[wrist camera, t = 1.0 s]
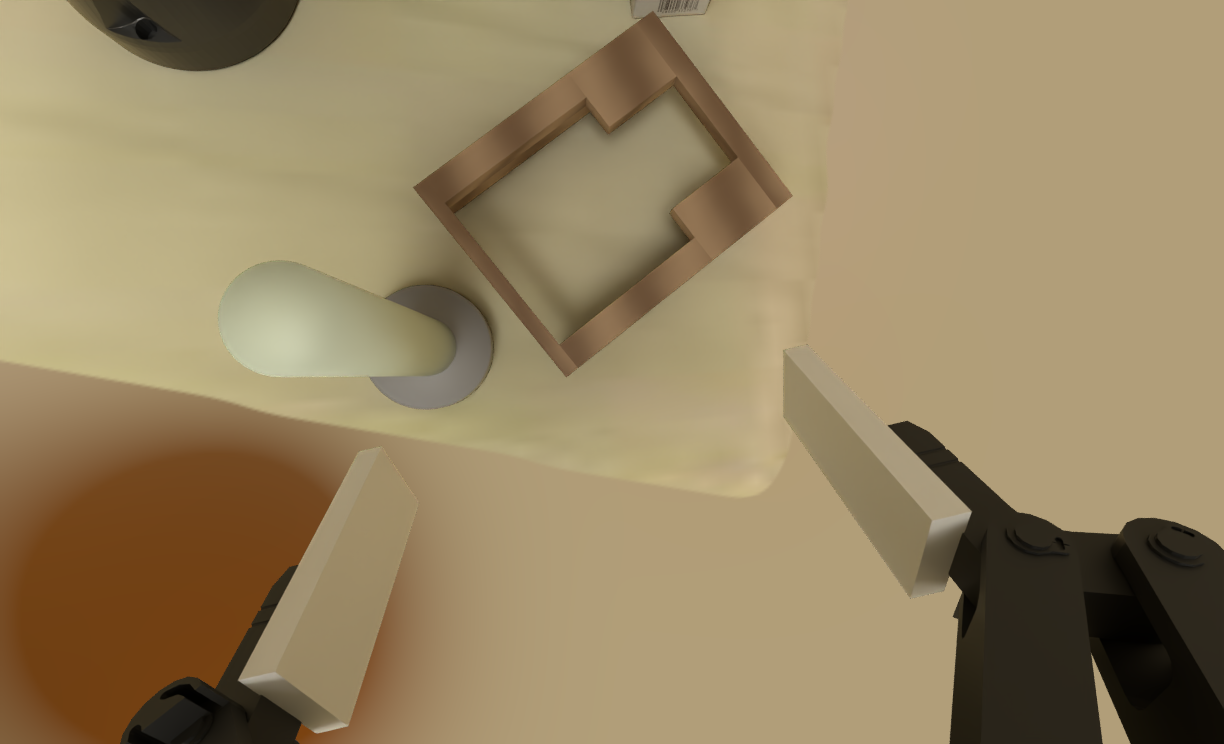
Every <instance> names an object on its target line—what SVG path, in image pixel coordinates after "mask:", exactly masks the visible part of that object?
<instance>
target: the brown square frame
mask: <svg viewBox="0 0 1224 744" xmlns="http://www.w3.org/2000/svg"><path fill="white" fill-rule="evenodd" d="M672 86H674V87H675V88H676V90H677V91H678V92H679V94H680V95H681V96H682V98H683V99H684V100H685V101H686V103H687V104H688V105H689V107H690V108H691V109H692V111H693V112H694V113H695V115H696V116H697V117H698V119H699V120H700V121H701V123H702V124H703V125H704V126H705V128H706V129H707V130H708V132H709V133H710V134H711V136H712V137H713V138H714V140H715V141H716V142H717V144H718V145H719V146H720V148H721V149H722V150H723V151H724V153H725V154H726V155H727V157H728V158H729V159H730V161H731V163H730V164H729V165H728V166H726V167H725V168H724V169H723V170H721V171H720V172H719V173H717V174H716V175H715V176H714V177H712V178H711V179H710V180H708V181H707V182H706V183H705V184H703V185H702V186H701V187H700V188H698V189H697V190H696V191H694V192H693V193H692V194H691V195H689V196H688V197H687V198H685V199H684V200H683V201H682V202H680V203H679V204H678V205H677V206H675V207H674V208H673V209H672V210H671V212H670V215H671V216H672V218H673V219H674V220H675V222H676V223H677V224H678V225H679V227H680V228H681V229H682V231H683V232H684V233H685V234H686V236H687V237H688V238H689V240H690V242H688V243H687V244H686V245H684V246H683V247H682V248H681V249H679V250H678V251H677V252H676V253H674V254H673V255H672V256H671V257H669V258H668V259H667V260H666V261H664V262H663V263H662V264H661V265H659V266H658V267H657V268H655V269H654V270H653V271H652V272H650V273H649V274H648V275H647V276H645V277H644V278H643V279H642V280H640V281H639V282H638V283H637V284H635V285H634V286H633V287H632V288H630V289H629V290H628V291H626V292H625V293H624V294H623V295H621V296H620V297H619V298H618V299H616V300H615V301H614V302H613V303H611V304H610V305H609V306H608V307H606V308H605V309H604V310H602V311H601V312H600V313H599V314H597V315H596V316H595V317H594V318H592V319H591V320H590V321H589V322H587V323H586V324H585V325H584V326H582V327H581V328H580V329H579V330H577V331H576V332H575V333H573V334H572V335H571V336H570V337H568V338H567V339H566V340H565V341H563V342H562V343H561V344H560V345H559V344H558V343H557V341H556V340H555V339H554V338H553V336H552V335H551V334H550V333H549V331H548V330H547V329H546V328H545V326H544V325H543V324H542V323H541V321H540V320H539V319H538V318H537V317H536V315H535V314H534V313H533V312H532V310H531V309H530V308H529V307H528V305H527V304H526V303H525V302H524V300H523V299H522V298H521V297H520V295H519V294H518V293H517V292H516V290H515V289H514V288H513V287H512V285H511V284H510V283H509V282H508V281H507V279H506V278H505V277H504V276H503V274H502V273H501V272H500V271H499V269H498V268H497V267H496V266H495V264H494V263H493V262H492V261H491V259H490V258H489V257H488V256H487V254H486V253H485V252H484V251H483V249H482V248H481V247H480V246H479V244H478V243H477V242H476V241H475V240H474V238H473V237H472V236H471V235H470V233H469V232H468V231H467V230H466V228H465V227H464V226H463V225H462V223H461V222H460V221H459V220H458V218H457V217H456V216H455V215H454V213H456V212H457V211H458V210H460V209H461V208H462V207H464V206H465V205H466V204H468V203H469V202H470V201H472V200H473V199H474V198H476V197H477V196H478V195H480V194H481V193H482V192H484V191H485V190H486V189H488V188H489V187H490V186H492V185H493V184H494V183H496V182H497V181H498V180H500V179H501V178H502V177H504V176H505V175H506V174H508V173H509V172H510V171H512V170H513V169H514V168H516V167H517V166H518V165H520V164H521V163H523V162H524V161H525V160H527V159H528V158H529V157H531V156H532V155H533V154H535V153H536V152H537V151H539V150H540V149H541V148H543V147H544V146H545V145H547V144H548V143H549V142H551V141H552V140H553V139H555V138H556V137H557V136H559V135H560V134H561V133H563V132H564V131H565V130H567V129H568V128H569V127H571V126H572V125H573V124H575V123H576V122H577V121H579V120H580V119H581V118H583V117H584V116H585V115H587V114H588V113H589V112H591V113H592V114H593V116H594V117H595V118H596V120H597V121H598V122H599V123H600V125H601V126H602V127H603V129H604V130H605V131H606V132H607V134H610V133H611V132H612V131H614V130H615V129H616V128H618V127H619V126H620V125H622V124H623V123H624V122H626V121H627V120H628V119H630V118H631V117H632V116H633V115H635V114H636V113H637V112H639V111H640V110H641V109H643V108H644V107H645V106H647V105H648V104H649V103H651V102H652V101H653V100H655V99H656V98H657V97H659V96H660V95H661V94H663V93H664V92H665V91H667V90H668V89H669V88H671V87H672ZM413 188H414V189H415V191H416V192H417V193H418V194H419V196H420V197H421V198H422V199H423V200H424V202H425V203H426V204H427V205H428V207H429V208H430V209H431V210H432V212H433V213H434V214H435V215H436V217H437V218H438V219H439V220H440V221H441V223H442V224H443V225H444V226H445V228H446V229H447V230H448V231H449V233H450V234H451V235H452V236H453V238H454V239H455V240H456V241H457V243H458V244H459V245H460V246H461V247H462V249H463V250H464V251H465V252H466V254H467V255H468V256H469V257H470V259H471V260H472V261H473V262H474V264H475V265H476V266H477V267H478V269H479V270H480V271H481V272H482V273H483V275H484V276H485V277H486V278H487V280H488V281H489V282H490V283H491V285H492V286H493V287H494V288H495V290H496V291H497V292H498V293H499V294H500V296H501V297H502V298H503V299H504V301H505V302H506V303H507V304H508V306H509V307H510V308H511V309H512V311H513V312H514V313H515V314H516V316H517V317H518V318H519V319H520V320H521V322H522V323H523V324H524V325H525V327H526V328H527V329H528V330H529V332H530V333H531V334H532V335H533V337H534V338H535V339H536V340H537V342H538V343H539V344H540V345H541V346H542V348H543V349H544V350H545V351H546V353H547V354H548V355H549V356H550V358H551V359H552V360H553V361H554V363H555V364H556V365H557V366H558V367H559V369H560V370H561V371H562V372H563V374H564V375H565V376H566V377H567V376H569V375H570V374H571V373H572V372H574V371H575V370H576V369H577V368H579V367H580V366H581V365H582V364H584V363H585V362H586V361H587V360H589V359H590V358H591V357H592V356H594V355H595V354H596V353H597V352H599V351H600V350H601V349H602V348H604V347H605V346H606V345H607V344H609V343H610V342H611V341H612V340H614V339H615V338H616V337H617V336H619V335H620V334H621V333H622V332H624V331H625V330H626V329H627V328H629V327H630V326H631V325H632V324H634V323H635V322H636V321H637V320H639V319H640V318H641V317H642V316H644V315H645V314H646V313H647V312H649V311H650V310H651V309H652V308H654V307H655V306H656V305H657V304H659V303H660V302H661V301H662V300H664V299H665V298H666V297H667V296H669V295H670V294H671V293H672V292H674V291H675V290H676V289H677V288H679V287H680V286H681V285H682V284H684V283H685V282H686V281H687V280H689V279H690V278H691V277H692V276H693V275H695V274H696V273H697V272H698V271H700V270H701V269H702V268H703V267H705V266H706V265H707V264H708V263H710V262H711V261H712V260H713V259H715V258H716V257H717V256H718V255H720V254H721V253H722V252H723V251H725V250H726V249H727V248H728V247H730V246H731V245H732V244H733V243H735V242H736V241H737V240H738V239H740V238H741V237H742V236H743V235H745V234H746V233H747V232H748V231H750V230H751V229H752V228H753V227H755V226H756V225H757V224H758V223H760V222H761V221H762V220H763V219H765V218H766V217H767V216H768V215H770V214H771V213H772V212H773V211H775V210H776V209H777V208H778V207H780V206H781V205H782V204H783V203H785V202H786V201H787V200H788V199H789V198H791V197H792V194H791V193H790V192H789V190H788V189H787V188H786V186H785V185H784V184H783V182H782V181H781V180H780V178H779V177H778V176H777V174H776V173H775V172H774V170H773V169H772V168H771V166H770V165H769V164H768V162H767V161H766V160H765V158H764V157H763V156H762V154H761V153H760V152H759V150H758V149H757V148H756V147H755V145H754V144H753V143H752V141H751V140H750V139H749V137H748V136H747V135H746V133H745V132H744V131H743V129H742V128H741V127H740V125H739V124H738V123H737V121H736V120H735V119H734V117H733V116H732V115H731V113H730V112H729V111H728V109H727V108H726V107H725V105H724V104H723V103H722V101H721V100H720V99H719V98H718V96H717V95H716V94H715V92H714V91H713V90H712V88H711V87H710V86H709V84H708V83H707V82H706V80H705V79H704V78H703V76H702V75H701V74H700V72H699V71H698V70H697V68H696V67H695V66H694V64H693V63H692V62H691V60H690V59H689V58H688V56H687V55H686V54H685V52H684V51H683V50H682V48H681V47H680V46H679V45H678V43H677V42H676V41H675V39H674V38H673V37H672V35H671V34H670V33H669V31H668V30H667V29H666V27H665V26H664V25H663V23H662V22H661V21H660V19H659V18H658V17H657V15H656V14H655V13H654V11H652V12H651V13H649V14H648V15H646V16H645V17H644V18H642V19H641V20H640V21H638V22H637V23H636V24H634V25H633V26H632V27H630V28H629V29H627V30H626V31H625V32H623V33H622V34H621V35H619V36H618V37H617V38H615V39H614V40H613V41H611V42H610V43H608V44H607V45H606V46H604V47H603V48H602V49H600V50H599V51H598V52H596V53H595V54H594V55H592V56H591V57H589V58H588V59H587V60H585V61H584V62H583V63H581V64H580V65H579V66H577V67H576V68H575V69H573V70H572V71H570V72H569V73H568V74H566V75H565V76H564V77H562V78H561V79H560V80H558V81H557V82H556V83H554V84H553V85H551V86H550V87H549V88H547V89H546V90H545V91H543V92H542V93H541V94H539V95H538V96H537V97H535V98H534V99H532V100H531V101H530V102H528V103H527V104H526V105H524V106H523V107H522V108H520V109H519V110H518V111H516V112H515V113H513V114H512V115H511V116H509V117H508V118H507V119H505V120H504V121H503V122H501V123H500V124H499V125H497V126H496V127H494V128H493V129H492V130H490V131H489V132H488V133H486V134H485V135H484V136H482V137H481V138H480V139H478V140H477V141H475V142H474V143H473V144H471V145H470V146H469V147H467V148H466V149H465V150H463V151H462V152H461V153H459V154H458V155H456V156H455V157H454V158H452V159H451V160H450V161H448V162H447V163H446V164H444V165H443V166H442V167H440V168H439V169H438V170H436V171H435V172H433V173H432V174H431V175H429V176H428V177H427V178H425V179H424V180H423V181H421V182H420V183H419V184H417V185H416V186H414V187H413Z"/></svg>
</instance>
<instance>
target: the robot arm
mask: <svg viewBox="0 0 1224 744" xmlns="http://www.w3.org/2000/svg"><path fill="white" fill-rule="evenodd" d="M67 1H68V2H69V3H70V4H71V5H72V6H73V7H74V8H75V9H76V10H77V11H78V12H79V13H80V14H81V15H82V16H83V17H84V18H85V19H86V20H88V21H89V22H90V23H91V24H92V25H94V26H95V27H96V28H98V29H99V30H101V31H102V32H103V33H105V34H106V35H107V36H109V37H110V38H111V39H113V40H114V41H116V42H117V43H118V44H120V45H121V46H122V47H124V48H125V49H127V50H128V51H130V52H131V53H133V54H135V55H137V56H139V57H140V58H143V59H145V60H147V61H150V62H152V63H155V64H158V65H161V66H165V67H169V68H174V69H180V70H191V71H201V70H213V69H219V68H224V67H227V66H231V65H234V64H237V63H239V62H242V61H244V60H246V59H248V58H250V57H252V56H254V55H255V54H257V53H258V52H260V51H261V50H263V49H264V48H265V47H267V46H268V45H269V44H270V43H271V42H272V41H273V40H274V39H275V38H276V37H277V36H278V35H279V34H280V32H281V31H282V30H283V28H284V27H285V26H286V24H287V22H288V21H289V19H290V17H291V15H292V13H293V11H294V8H295V6H296V3H297V0H67ZM783 417H784V418H785V419H786V421H787V422H788V424H789V425H790V427H791V428H792V430H793V431H794V432H795V434H796V435H797V437H798V438H799V440H800V441H801V442H802V444H803V445H804V447H805V448H806V449H807V451H808V453H809V454H810V455H811V457H812V458H813V460H814V461H815V463H816V464H817V465H818V467H819V468H820V470H821V471H822V473H823V474H824V475H825V477H826V478H827V480H828V481H829V483H830V484H831V485H832V487H833V488H834V490H835V491H836V493H837V494H838V495H839V497H840V498H841V500H842V501H843V502H844V504H845V506H846V507H847V508H848V510H849V511H850V513H851V514H852V516H853V517H854V519H855V520H856V521H857V523H858V524H859V526H860V527H861V528H862V530H863V531H864V533H865V534H866V536H867V537H868V538H869V540H870V541H871V543H872V544H873V545H874V547H875V549H876V550H877V551H878V553H879V554H880V556H881V557H882V559H883V560H884V562H885V563H886V564H887V566H888V567H889V569H890V570H891V572H892V573H893V574H894V576H895V577H896V579H897V580H898V582H899V583H900V584H901V586H902V587H903V589H904V590H905V592H906V593H907V595H908V596H909V597H910V599H911V598H915V597H920V596H924V595H929V594H933V593H937V592H942V591H944V589H945V587H946V584H947V581H948V578H949V576H950V577H951V578H952V579H953V581H954V582H955V583H956V584H957V586H958V587H959V588H960V589H961V590H962V594H961V597H960V599H959V602H958V605H957V607H956V610H955V612H954V615H953V617H954V618H957V619H958V632H957V647H956V660H955V675H954V688H953V704H952V718H951V731H950V744H1103V743H1102V735H1101V727H1100V720H1099V712H1098V704H1097V696H1096V688H1095V681H1094V672H1093V665H1092V657H1091V653H1092V656H1093V658H1094V660H1095V663H1096V665H1097V667H1098V670H1099V672H1100V674H1101V676H1102V679H1103V681H1104V683H1105V686H1106V688H1107V690H1108V692H1109V695H1110V697H1111V699H1112V702H1113V704H1114V706H1115V709H1116V711H1117V713H1118V716H1119V718H1120V720H1121V723H1122V725H1123V727H1124V729H1125V732H1126V734H1127V736H1128V739H1129V741H1130V743H1131V744H1224V550H1223V549H1222V548H1221V547H1220V546H1219V545H1218V544H1217V543H1216V542H1214V541H1213V540H1211V539H1209V538H1207V537H1206V536H1204V535H1203V534H1201V533H1199V532H1198V531H1196V530H1193V529H1191V528H1188V527H1186V526H1183V525H1181V524H1178V523H1175V522H1171V521H1167V520H1162V519H1157V518H1137V519H1135V520H1132V521H1130V522H1127V523H1126V525H1125V526H1124V528H1123V529H1122V531H1121V532H1120V534H1103V533H1085V532H1070V531H1063V530H1061V529H1060V528H1058V527H1056V526H1055V525H1053V524H1052V523H1050V522H1048V521H1047V520H1044V519H1041V518H1039V517H1036V516H1033V515H1031V514H1025V513H1018V512H1016V511H1015V510H1014V509H1012V508H1011V507H1010V506H1009V505H1008V504H1007V503H1006V502H1004V501H1003V500H1002V499H1001V498H1000V497H999V496H998V495H997V494H996V493H995V492H994V491H993V490H991V489H990V488H989V487H988V486H987V485H986V484H985V483H984V482H983V481H982V480H980V478H978V477H977V476H976V475H975V474H974V473H973V472H972V471H971V470H970V469H969V468H968V467H967V466H965V465H964V464H963V463H962V462H959V461H958V458H957V457H956V456H955V455H953V454H952V453H951V452H950V451H949V450H946V449H945V446H944V445H943V444H941V443H940V442H939V441H938V440H937V439H936V438H935V437H934V436H933V435H932V434H931V433H930V432H928V431H926V430H924V429H922V428H920V427H918V426H916V425H914V424H912V423H910V422H908V421H905V422H900V423H896V424H892V425H888V426H887V425H886V424H885V423H884V422H883V421H882V420H881V419H880V418H879V417H878V416H877V415H876V414H875V412H873V410H871V408H869V406H867V404H866V403H865V402H864V401H863V400H862V399H861V398H860V397H859V396H858V395H857V394H856V393H855V392H854V391H853V390H852V389H851V388H850V387H849V386H848V385H847V384H846V383H845V382H844V381H843V380H842V379H841V378H840V377H839V376H838V375H837V374H836V373H835V372H834V371H833V370H832V369H831V368H830V367H829V366H828V365H827V364H826V363H825V362H824V361H823V360H822V359H821V358H820V357H819V356H818V355H817V354H816V353H815V351H814V350H812V348H810V347H809V345H808V344H806V345H802V346H798V347H794V348H789V349H785V350H783ZM418 505H419V502H418V500H417V499H416V497H415V495H414V494H413V492H412V491H411V490H410V488H409V486H408V485H407V483H406V482H405V480H404V479H403V478H402V476H401V474H400V473H399V471H398V470H397V468H396V467H395V465H394V464H393V462H392V461H391V459H390V458H389V456H388V455H387V453H386V452H385V450H384V449H383V447H382V446H380V447H375V448H371V449H367V450H363V451H359V452H358V454H357V456H356V457H355V459H354V461H353V463H352V465H351V467H350V469H349V471H348V473H347V475H346V476H345V478H344V480H343V482H342V484H341V486H340V488H339V490H338V491H337V493H336V495H335V497H334V499H333V501H332V503H331V505H330V507H329V509H328V510H327V512H326V514H325V516H324V518H323V520H322V522H321V524H320V526H319V528H318V529H317V531H316V533H315V535H314V537H313V539H312V541H311V543H310V545H309V547H308V548H307V550H306V552H305V554H304V556H303V558H302V560H301V562H300V564H299V565H296V566H292V567H289V568H288V569H287V571H286V572H285V573H284V574H283V575H282V576H281V577H280V578H279V580H278V581H277V582H276V583H275V584H274V585H273V586H272V588H271V590H270V592H269V593H268V595H267V597H266V599H265V601H264V603H263V604H262V606H261V611H258V613H257V615H256V617H255V619H254V621H253V622H252V627H251V628H249V629H248V631H247V633H246V635H245V636H244V639H243V640H242V642H241V644H240V646H239V647H238V649H237V651H236V653H235V655H234V656H233V658H232V660H231V662H230V663H229V665H228V667H227V669H226V671H225V672H224V675H223V676H222V678H221V680H220V681H219V683H218V685H217V687H216V688H215V689H214V688H212V687H211V686H209V685H208V684H206V683H205V682H203V681H202V680H200V679H198V678H194V677H186V678H183V679H180V680H177V681H175V682H173V683H171V684H170V685H168V686H167V687H165V688H163V689H162V690H160V691H159V692H158V693H157V694H155V696H153V697H152V698H151V699H150V700H149V701H147V702H146V703H145V704H144V705H143V706H142V708H141V709H140V710H139V711H138V712H137V714H136V715H135V716H134V717H133V718H132V719H131V721H130V723H129V725H128V727H127V728H126V730H125V732H124V733H123V735H122V739H121V743H120V744H299V743H298V741H296V740H295V739H296V736H297V733H298V731H299V728H300V726H301V723H302V724H303V725H305V726H306V727H308V728H309V729H310V730H312V731H313V732H315V733H320V732H325V731H329V730H333V729H338V728H342V727H347V726H348V725H349V722H350V719H351V716H352V712H353V710H354V707H355V703H356V700H357V697H358V694H359V691H360V687H361V684H362V681H363V678H364V675H365V672H366V669H367V666H368V662H369V659H370V656H371V653H372V650H373V647H374V644H375V640H376V637H377V634H378V631H379V628H380V625H381V622H382V618H383V615H384V612H385V609H386V606H387V602H388V600H389V596H390V593H391V590H392V587H393V584H394V581H395V578H396V574H397V571H398V568H399V565H400V562H401V559H402V555H403V552H404V549H405V546H406V543H407V540H408V537H409V533H410V530H411V527H412V524H413V521H414V518H415V515H416V511H417V508H418Z"/></svg>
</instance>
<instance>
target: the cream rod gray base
mask: <svg viewBox="0 0 1224 744" xmlns="http://www.w3.org/2000/svg"><path fill="white" fill-rule="evenodd" d="M218 326H219V331H220V335H221V338H222V340H223V343H224V344H225V346H226V348H227V350H228V351H229V352H230V354H231V355H232V356H233V357H234V358H235V359H236V360H237V361H238V362H239V363H240V364H242V365H243V366H245V367H246V368H248V369H250V370H251V371H254V372H256V373H259V374H262V375H265V376H271V377H370V379H371V380H372V382H373V383H374V385H375V386H376V387H377V388H378V389H379V390H380V391H381V392H382V393H383V394H384V395H385V396H387V397H388V398H390V399H391V400H393V401H395V402H396V403H399V404H401V405H403V406H407V407H410V408H415V409H437V408H441V407H446V406H450V405H452V404H455V403H458V402H460V401H462V400H464V399H465V398H467V397H468V396H470V395H471V394H472V393H473V392H474V391H476V390H477V389H478V387H479V386H480V385H481V384H482V382H483V381H484V379H485V378H486V376H487V374H488V372H489V370H490V367H491V364H492V359H493V348H494V347H493V338H492V334H491V330H490V328H489V325H488V323H487V321H486V319H485V317H484V316H483V315H482V313H481V312H480V311H479V310H478V309H477V307H476V306H475V305H473V304H472V303H471V302H470V301H468V300H467V299H466V298H464V297H463V296H461V295H460V294H458V293H456V292H454V291H452V290H450V289H447V288H444V287H440V286H434V285H417V286H412V287H407V288H404V289H401V290H399V291H397V292H395V293H393V294H391V295H390V296H388V297H387V298H382V297H380V296H378V295H375V294H373V293H370V292H368V291H365V290H363V289H361V288H358V287H356V286H353V285H351V284H348V283H346V282H344V281H341V280H339V279H336V278H334V277H331V276H329V275H327V274H324V273H322V272H319V271H317V270H314V269H312V268H310V267H307V266H305V265H302V264H299V263H296V262H290V261H269V262H264V263H260V264H257V265H255V266H253V267H250V268H248V269H247V270H245V271H244V272H242V273H241V274H240V275H238V276H237V277H236V278H235V279H234V280H233V281H232V282H231V283H230V285H229V286H228V288H227V289H226V291H225V293H224V295H223V297H222V299H221V302H220V306H219V311H218Z"/></svg>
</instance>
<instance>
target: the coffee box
mask: <svg viewBox="0 0 1224 744" xmlns="http://www.w3.org/2000/svg"><path fill="white" fill-rule="evenodd" d="M709 3H710V0H630V4H631V11H632V17H633V18H644V17H645V16H646V15H648V14H649V13H651V12H652V11H654V13H655V14H656V15H657V17H663V16H679V15H694V14H705V12H706V11H707V8H708V6H709Z"/></svg>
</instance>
